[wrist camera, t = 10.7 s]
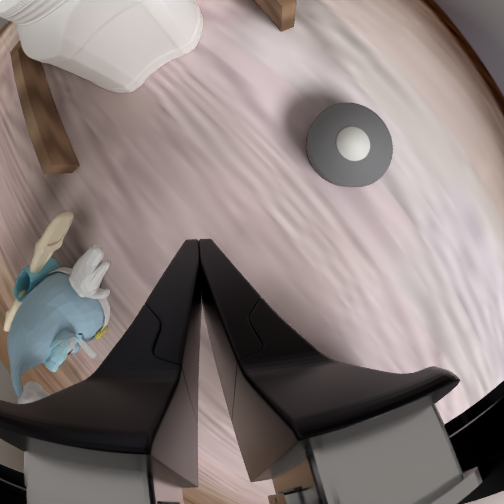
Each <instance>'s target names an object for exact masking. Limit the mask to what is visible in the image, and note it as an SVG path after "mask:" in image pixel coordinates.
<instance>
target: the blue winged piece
mask: <svg viewBox="0 0 504 504" xmlns="http://www.w3.org/2000/svg"><path fill="white" fill-rule="evenodd" d="M73 218H74V214H73V213H72V212H69V211H66V212H62V213H60V214H58V215H57V216H55V217H54V218H53V220H52V221H51V222H50V224H49V225H48V226H47V228H46V229H45V231H44V233H43V235H42V236H41V238H40V240H38V241H37V242H36V244H35V252H34V255H33V258H32V261H31V265H30V266H27V267H26V268H25V269H23V270H22V271H21V273H20V274H19V276H18V278H17V280H16V283H15V287H14V295H15V297H16V299H15V301H14V302H13V304H12V306H11V308H10V310H8V311H7V312H6V319H5V323H4V331H9V334H8V353H9V359H10V367H11V378H12V383H13V387H14V390H15V392H16V394H17V396H18V397H19V400H18V404H25V403H31V402H34V401H37V400H40V399H42V398H44V397H47V396H49V395H50V394H49V393H47V392H46V391H44V389H43V387H42V386H41V385H39V384H38V383H36V382H28V383H27V384H26V385H25V386H24V388H23V387H22V381H21V380H22V375H23V372H25V371H26V370H28V369H31V368H34V367H36V366H38V365H39V364H41V363H45V365H46V367H47V368H48V369H49V370H50V371H52V372H56V371H57V369H58V367H59V365H61V364H62V363H63V362H64V361H65V359H66V357H67V355H69V354H70V353H76V352H77V351H78V350H79V345H80V346H81V347H82V349H83V350H84V351H85V352H86V353H87V354H88V355H89V356H90V357H91V358H92V359H94V358H95V357H96V356H97V354H96V353H95V352H94V351H93V350H92V349H91V348H90V347H89V346H88V345H87V344H86V343H85V342H88V341H91V340H93V339H94V338H95V339H96V340H98V339H99V338H100V337H101V336H102V335H103V334H104V333H105V332H106V331H107V330H108V326H106V325H107V324H108V321H109V317H110V305H109V303H108V300H107V298H106V297H108V295H109V294H110V290H109V289H102V288H100V284H101V281H102V278H103V276H104V275H105V273H106V271H107V270H108V268H109V266H110V262H109V261H104V262H103V263H102V264H101V262H102V259H103V257H104V252H103V249H102V248H101V247H100V246H98V245H92V246H91V247H90V248H89V249H88V250H87V252H86V253H85V254H83V255H82V256H81V257H80V258H79V259H78V260H77V262H76V263H75V265H74V267H73V269H72V268H68V267H61V268H59V263H58V262H57V261H56V259H55V258H53V257H51V256H52V254H53V253H54V251H55V250H57V249H59V248H60V247H61V245H62V243H63V238H64V236H65V234H66V232H67V231H68V229H69V227H70V225H71V223H72V220H73ZM103 322H104V326H103V327H102V328H101V326H102V324H103ZM100 328H101V329H100ZM95 333H96V334H95Z"/></svg>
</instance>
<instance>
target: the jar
mask: <svg viewBox="0 0 504 504" xmlns="http://www.w3.org/2000/svg"><path fill="white" fill-rule="evenodd" d="M0 17H1V18H6V19H7V20H9V21H12V22H13V23H15V24H16V27H17V31H18V34H19V38H20V42H21V46H22V49H23V51H24V52H25V54H26V55H27V56H28V57H30V58H32V59H34V60H37V61H40V62H43V63H49V64H51V65H54V66H56V67H59V68H61V69H64V70H66V71H68V72H71V73H73V74H75V75H78V76H80V77H82V78H84V79H87V80H89V81H91V82H93V83H94V84H96V85H97V86H99V87H101V88H103V89H106V90H108V91H111V92H116V93H130V92H134V91H135V90H136V89H137V88H139V87H140V86H141V85H142V84H143V83H144V82H145V81H146V79H147V78H148V77H149V76H150V75H151V74H153V73H154V72H155V71H156V70H157V69H159V68H160V67H161V66H163V65H164V64H166V63H168V62H169V61H171V60H173V59H175V58H178V57H180V56H183V55H185V54H187V53H189V52H190V51H192V50H193V49H195V48H196V46H197V44H198V42H199V39H200V37H201V33H202V28H203V18H202V14H201V11H200V9H199V7H198V5H197V3H196V1H195V0H0Z"/></svg>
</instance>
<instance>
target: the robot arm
mask: <svg viewBox="0 0 504 504" xmlns="http://www.w3.org/2000/svg"><path fill="white" fill-rule="evenodd" d="M201 296H202V300H201ZM202 305H203V310H204V315H205V319H206V324H207V328H208V332H209V337H210V341H211V345H212V349H213V353H214V357H215V361H216V365H217V369H218V373H219V377H220V381H221V385H222V388H223V392H224V396H225V400H226V403H227V407H228V410H229V414H230V417H231V421H232V424H233V428H234V431H235V434H236V438H237V441H238V444H239V448H240V451H241V454H242V457H243V460H244V463H245V466H246V469H247V472H248V475H249V478H250V482H256V481H262V480H268V479H272V480H273V484H274V488H275V492H276V494H275V495H270V496H268V499H269V503H270V504H464V503H468V502H471V501H475V500H478V499H481V498H484V497H487V496H490V495H493V494H496V493H498V492H501V491H504V381H503V382H502V383H500V384H499V385H498V386H497V387H496V388H494V389H493V390H492V391H491V392H490V393H488V394H487V395H486V396H485V397H483V398H482V399H481V400H480V401H478V402H477V403H476V404H474V405H473V406H472V407H470V408H469V409H467V410H466V411H465V412H463V413H462V414H460V415H459V416H457V417H456V418H454V419H453V420H451V421H449V422H448V423H446V424H444V423H443V420H442V418H441V416H440V414H439V412H438V409H437V407H436V405H435V403H436V402H438V401H439V400H440V399H441V398H443V397H444V396H445V395H446V394H448V393H449V392H450V391H451V390H452V389H454V388H455V387H456V386H457V385H458V383H459V382H460V379H459V378H458V377H457V376H456V375H455V374H454V373H452V372H450V371H448V370H446V369H442V368H438V367H435V366H433V367H428V368H425V369H423V370H421V371H418V372H414V373H408V374H397V373H390V372H384V371H379V370H374V369H369V368H364V367H359V366H354V365H349V364H345V363H341V362H337V361H334V360H332V359H330V358H328V357H327V356H325V355H324V354H322V353H321V352H320V351H318V350H317V349H316V348H315V347H314V346H312V345H311V344H310V343H309V342H308V341H307V340H305V339H304V338H303V337H302V336H301V335H300V334H298V333H297V332H296V331H295V330H294V329H293V328H291V327H290V326H289V325H288V324H287V323H286V322H285V321H284V320H283V319H282V318H281V317H279V316H278V315H277V314H276V312H275V311H274V310H273V309H272V308H271V307H270V306H269V305H268V304H267V303H266V302H265V300H264V299H263V298H261V296H260V295H259V294H258V293H257V291H256V290H255V289H254V288H253V287H252V286H251V285H250V283H249V282H248V281H247V280H246V279H245V278H244V277H243V275H242V274H241V273H240V272H239V271H238V270H237V268H236V267H235V266H234V265H233V264H232V263H231V262H230V260H229V259H228V258H227V257H226V256H225V255H224V253H223V252H222V251H221V250H220V249H219V248H218V246H217V245H216V244H215V243H214V242H213V240H212V239H200V240H199V242H198V240H197V239H192V240H186V241H185V242H184V243H183V245H182V246H181V248H180V249H179V251H178V252H177V254H176V255H175V257H174V258H173V260H172V261H171V263H170V264H169V266H168V268H167V269H166V271H165V272H164V274H163V275H162V277H161V278H160V280H159V282H158V283H157V285H156V286H155V288H154V289H153V291H152V293H151V294H150V296H149V297H148V299H147V301H146V302H145V305H143V307H142V309H141V310H140V312H139V314H138V315H137V317H136V318H135V320H134V321H133V323H132V324H131V326H130V327H129V328H128V330H127V331H126V332H125V334H124V335H123V336H122V338H121V339H120V340H119V342H118V343H117V344H116V345H115V347H114V348H113V349H112V351H111V352H110V353H109V355H108V356H107V357H106V358H105V360H104V361H103V362H102V364H101V365H100V366H99V368H98V369H97V370H96V371H95V372H94V373H93V374H92V375H91V376H90V377H88V378H87V379H85V380H84V381H82V382H79V383H77V384H75V385H72V386H70V387H68V388H66V389H63V390H61V391H59V392H56V393H54V394H51V395H49V396H47V397H44V398H42V399H40V400H37V401H34V402H31V403H25V404H14V403H10V402H6V401H2V400H0V438H1V439H3V440H4V441H6V442H8V443H10V444H11V445H13V446H15V447H17V448H19V449H21V450H23V451H25V455H24V473H21V472H18V471H16V470H13V469H10V468H8V467H5V466H3V465H1V464H0V504H184V501H183V495H182V488H191V487H198V425H197V424H198V377H199V349H200V328H201V310H202Z"/></svg>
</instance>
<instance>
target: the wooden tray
mask: <svg viewBox="0 0 504 504" xmlns="http://www.w3.org/2000/svg"><path fill="white" fill-rule="evenodd" d="M254 1H255V2H256V3H257V4H258V5H259V6H260V8H261V9H262V10H263V11H264V12H265V13H266V14H267V15H268V16H269V18H270V19H271V20H272V21H273V22H274V23H275V24H276V26H277V27H278V28H279V29H280V30H281V32H282V31H284V30H286V29H289V28H292V27H294V21H295V12H296V3H297V1H296V0H254ZM10 53H11V60H12V66H13V71H14V76H15V81H16V86H17V90H18V94H19V98H20V102H21V106H22V110H23V114H24V117H25V121H26V124H27V127H28V130H29V134H30V137H31V140H32V143H33V146H34V149H35V151H36V154H37V157H38V160H39V162H40V165H41V168H42V170H43V173H44V174H54V173H72V172H73V171H74V170H75V169H76V168H77V167H78V166H79V163H78V160H77V158H76V156H75V154H74V151H73V149H72V147H71V144H70V142H69V140H68V137H67V135H66V132H65V130H64V127H63V125H62V122H61V120H60V117H59V115H58V112H57V109H56V106H55V104H54V101H53V98H52V95H51V92H50V89H49V86H48V83H47V80H46V77H45V74H44V71H43V67H42V64H41V62H40V61H37V60H34V59H32V58H30V57H28V56H27V55H26V54H25V52H24V51H23V49H22V46H21V42H20V41H19V42H18V43H17V44H16V46H15V47H14V48H13V49H12V51H11V52H10Z"/></svg>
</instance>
